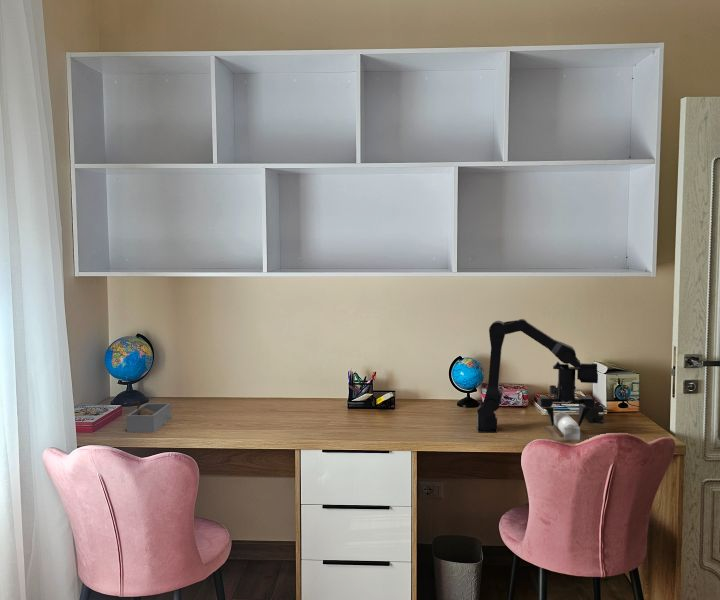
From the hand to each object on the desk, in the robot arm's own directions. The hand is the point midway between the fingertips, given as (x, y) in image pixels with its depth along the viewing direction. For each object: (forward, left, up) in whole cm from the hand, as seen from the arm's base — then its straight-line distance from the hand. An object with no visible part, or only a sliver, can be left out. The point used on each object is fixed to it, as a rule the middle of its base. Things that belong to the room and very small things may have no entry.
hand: (565, 425), depth 247 cm
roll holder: (0, 0, -4) cm, 4 cm away
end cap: (+15, +22, -4) cm, 27 cm away
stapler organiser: (-152, +10, -4) cm, 152 cm away
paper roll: (0, 0, -2) cm, 2 cm away
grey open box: (-154, +10, -4) cm, 154 cm away
